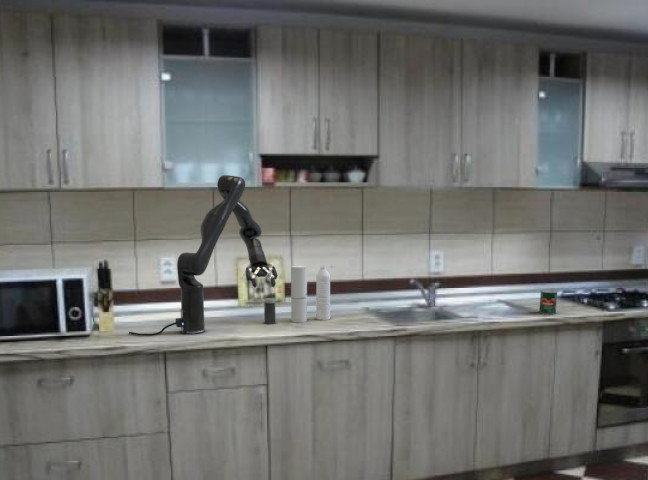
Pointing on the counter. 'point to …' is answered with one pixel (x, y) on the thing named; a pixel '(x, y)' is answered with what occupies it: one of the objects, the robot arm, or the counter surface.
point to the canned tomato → (548, 302)
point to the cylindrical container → (298, 293)
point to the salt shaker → (269, 311)
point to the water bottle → (323, 294)
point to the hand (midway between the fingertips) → (264, 286)
